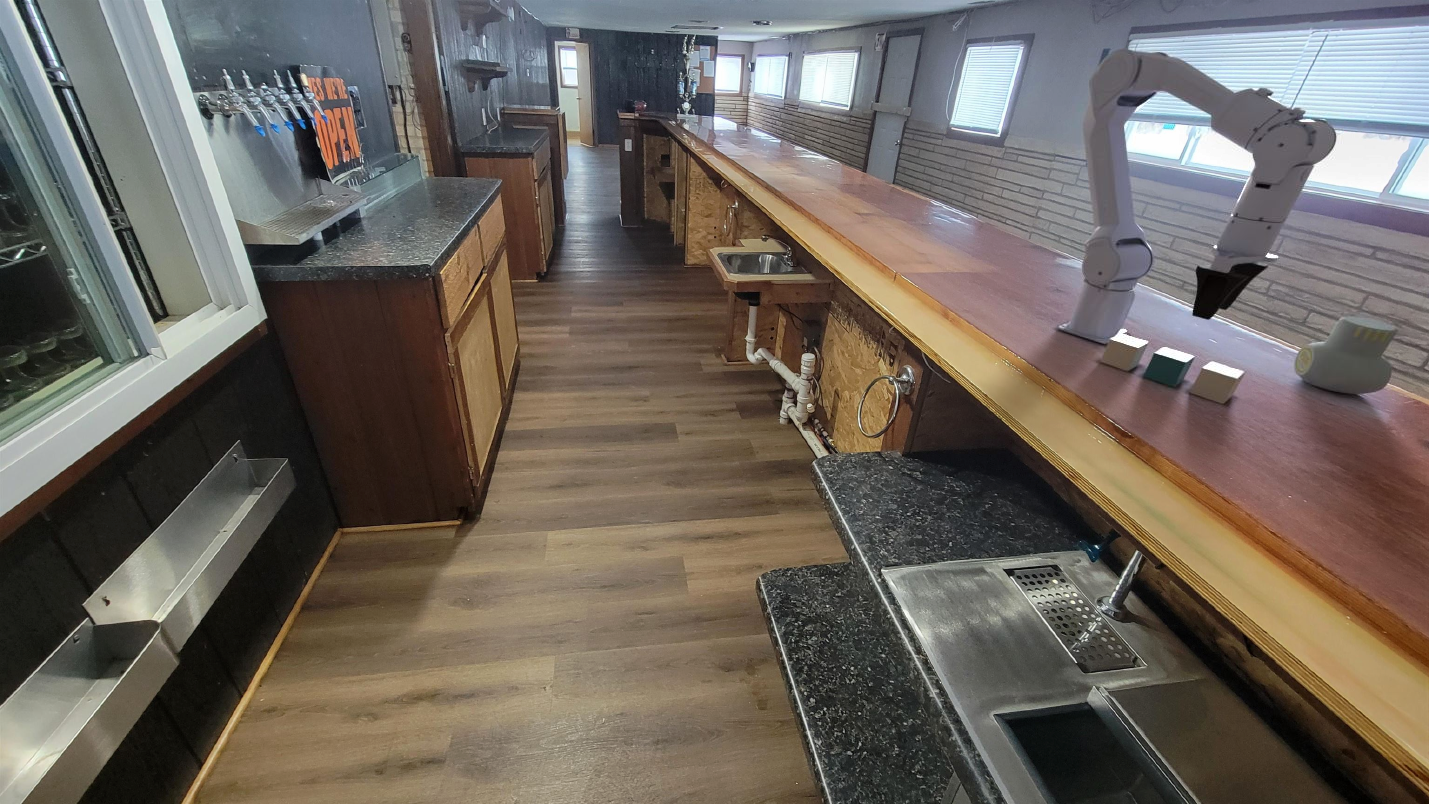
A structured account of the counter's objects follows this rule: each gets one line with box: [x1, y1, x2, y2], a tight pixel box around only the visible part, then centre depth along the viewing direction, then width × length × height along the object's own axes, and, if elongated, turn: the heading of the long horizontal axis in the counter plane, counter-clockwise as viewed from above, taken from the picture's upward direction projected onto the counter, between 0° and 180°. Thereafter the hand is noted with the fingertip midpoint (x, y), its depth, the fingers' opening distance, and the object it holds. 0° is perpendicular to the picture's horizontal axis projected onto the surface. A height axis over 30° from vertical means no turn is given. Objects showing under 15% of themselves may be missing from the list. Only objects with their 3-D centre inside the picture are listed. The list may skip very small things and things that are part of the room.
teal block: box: [1142, 346, 1196, 388], centre depth 84 cm, size 4×4×4 cm
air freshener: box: [1293, 315, 1399, 395], centre depth 82 cm, size 11×8×10 cm
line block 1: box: [1100, 334, 1149, 372], centre depth 88 cm, size 4×4×4 cm
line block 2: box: [1189, 361, 1246, 405], centre depth 80 cm, size 4×4×4 cm
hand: (1209, 312), depth 83 cm, fingers open, 7 cm apart
